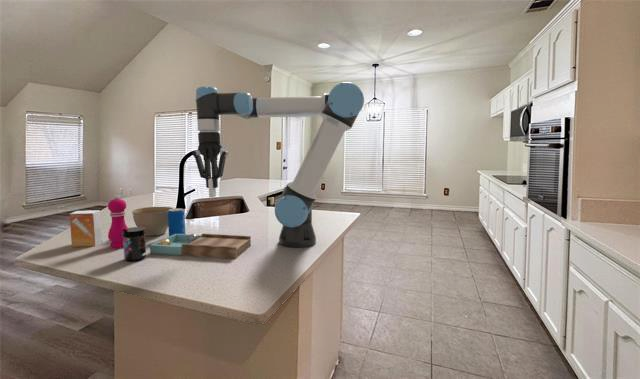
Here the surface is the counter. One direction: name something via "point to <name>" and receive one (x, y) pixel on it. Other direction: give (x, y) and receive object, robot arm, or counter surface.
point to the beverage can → (176, 221)
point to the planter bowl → (152, 219)
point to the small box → (85, 228)
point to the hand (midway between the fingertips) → (212, 196)
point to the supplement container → (134, 244)
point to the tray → (174, 247)
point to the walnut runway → (217, 246)
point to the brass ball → (165, 242)
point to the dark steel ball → (192, 238)
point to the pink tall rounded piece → (117, 222)
